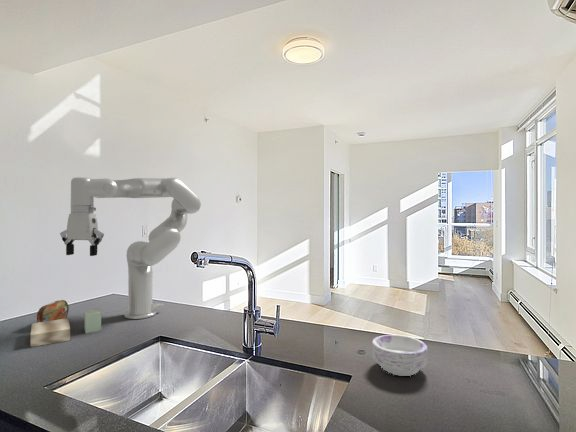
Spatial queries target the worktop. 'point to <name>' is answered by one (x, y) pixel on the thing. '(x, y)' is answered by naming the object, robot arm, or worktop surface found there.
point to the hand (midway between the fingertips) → (81, 255)
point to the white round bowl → (399, 354)
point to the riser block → (50, 332)
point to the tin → (53, 311)
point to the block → (92, 321)
